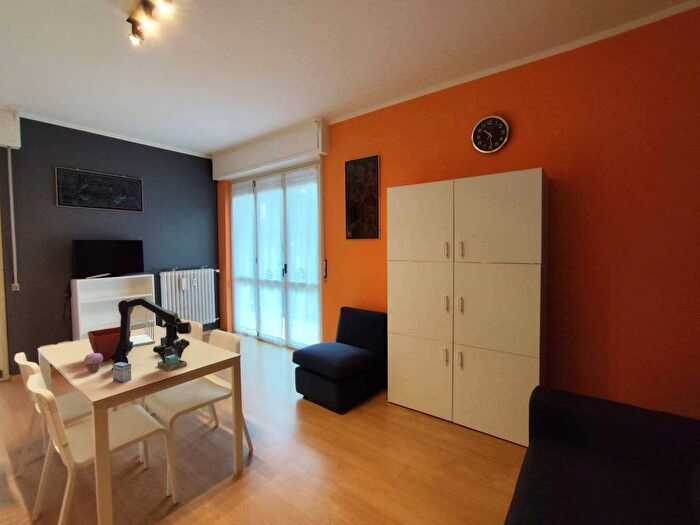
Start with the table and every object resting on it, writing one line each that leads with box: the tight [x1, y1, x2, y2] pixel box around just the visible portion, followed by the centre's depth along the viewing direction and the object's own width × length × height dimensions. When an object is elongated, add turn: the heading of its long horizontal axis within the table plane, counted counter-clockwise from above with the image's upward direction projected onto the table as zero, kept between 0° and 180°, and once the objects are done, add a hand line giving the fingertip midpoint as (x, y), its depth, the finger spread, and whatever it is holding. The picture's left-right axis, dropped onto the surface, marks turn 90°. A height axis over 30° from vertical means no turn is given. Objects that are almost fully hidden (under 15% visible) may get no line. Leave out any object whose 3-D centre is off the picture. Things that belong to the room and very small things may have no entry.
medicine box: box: [112, 362, 132, 384], centre depth 175 cm, size 8×4×9 cm, turn 69°
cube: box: [165, 355, 179, 366], centre depth 196 cm, size 5×5×5 cm
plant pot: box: [87, 326, 132, 363], centre depth 211 cm, size 19×19×17 cm
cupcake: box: [83, 352, 104, 373], centre depth 188 cm, size 9×9×10 cm
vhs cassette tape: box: [160, 336, 179, 356], centre depth 218 cm, size 18×3×10 cm, turn 59°
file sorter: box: [130, 317, 156, 347], centre depth 246 cm, size 25×17×16 cm
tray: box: [157, 359, 188, 371], centre depth 196 cm, size 10×13×2 cm
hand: (172, 360), depth 196 cm, fingers open, 9 cm apart
